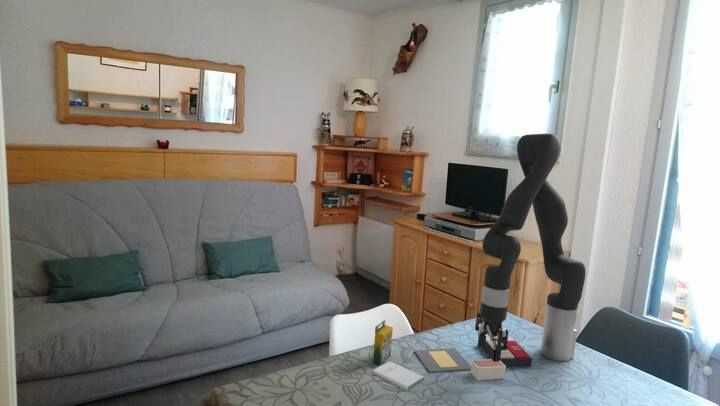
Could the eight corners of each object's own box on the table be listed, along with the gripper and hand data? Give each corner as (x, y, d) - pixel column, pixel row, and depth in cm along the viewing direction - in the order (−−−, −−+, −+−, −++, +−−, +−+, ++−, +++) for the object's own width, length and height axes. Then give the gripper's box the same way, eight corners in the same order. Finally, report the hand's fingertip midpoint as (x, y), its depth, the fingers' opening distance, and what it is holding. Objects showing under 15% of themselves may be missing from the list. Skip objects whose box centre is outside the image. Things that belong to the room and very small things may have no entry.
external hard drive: (407, 392, 122) (372, 374, 130) (423, 381, 128) (390, 365, 136) (407, 387, 122) (372, 369, 130) (424, 376, 128) (390, 360, 136)
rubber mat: (454, 349, 148) (454, 347, 148) (472, 369, 135) (473, 367, 135) (414, 351, 144) (414, 350, 144) (429, 372, 132) (429, 370, 132)
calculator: (499, 357, 137) (480, 333, 152) (498, 370, 138) (478, 345, 153) (533, 356, 139) (510, 333, 153) (531, 369, 140) (508, 345, 154)
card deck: (496, 371, 136) (498, 358, 135) (504, 378, 131) (506, 366, 131) (470, 372, 134) (471, 360, 133) (477, 381, 129) (478, 367, 129)
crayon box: (381, 365, 134) (383, 329, 133) (372, 363, 136) (374, 327, 134) (391, 356, 141) (393, 321, 139) (382, 353, 142) (384, 319, 140)
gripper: (519, 310, 123) (512, 365, 126) (493, 293, 137) (487, 342, 139) (495, 311, 122) (488, 366, 124) (471, 293, 135) (465, 343, 138)
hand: (488, 354), depth 132 cm, fingers open, 8 cm apart
